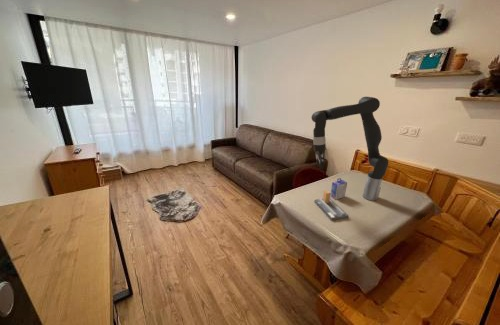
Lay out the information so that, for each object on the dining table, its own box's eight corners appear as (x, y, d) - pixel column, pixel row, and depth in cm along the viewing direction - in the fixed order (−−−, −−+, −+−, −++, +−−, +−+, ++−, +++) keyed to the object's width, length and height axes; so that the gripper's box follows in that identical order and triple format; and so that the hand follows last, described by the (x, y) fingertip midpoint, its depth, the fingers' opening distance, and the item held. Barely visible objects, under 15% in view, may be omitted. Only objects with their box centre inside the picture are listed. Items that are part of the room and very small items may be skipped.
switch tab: (326, 200, 143) (328, 190, 140) (328, 202, 140) (330, 192, 137) (322, 201, 142) (324, 191, 139) (324, 203, 139) (326, 193, 136)
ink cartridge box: (339, 193, 156) (342, 176, 151) (345, 197, 152) (348, 179, 146) (329, 196, 153) (332, 179, 147) (335, 199, 148) (338, 182, 143)
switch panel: (329, 200, 147) (330, 196, 146) (348, 218, 128) (349, 213, 127) (314, 202, 145) (314, 198, 143) (331, 220, 126) (331, 215, 124)
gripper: (328, 144, 123) (328, 169, 128) (322, 140, 137) (323, 163, 141) (315, 146, 124) (316, 170, 129) (311, 141, 138) (312, 164, 142)
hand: (320, 166), depth 135 cm, fingers open, 8 cm apart
